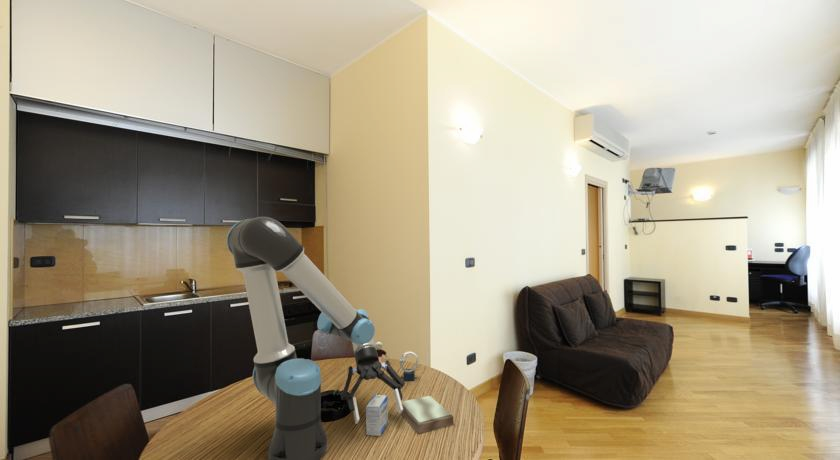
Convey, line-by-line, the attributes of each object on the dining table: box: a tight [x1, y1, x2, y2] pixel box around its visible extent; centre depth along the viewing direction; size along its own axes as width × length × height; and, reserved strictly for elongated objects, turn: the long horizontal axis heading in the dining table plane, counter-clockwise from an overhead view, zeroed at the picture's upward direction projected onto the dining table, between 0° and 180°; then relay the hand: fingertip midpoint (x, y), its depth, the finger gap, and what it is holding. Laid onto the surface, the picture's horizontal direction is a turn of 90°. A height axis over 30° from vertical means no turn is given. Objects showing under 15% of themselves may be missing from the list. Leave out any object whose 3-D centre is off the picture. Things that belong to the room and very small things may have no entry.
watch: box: [398, 351, 419, 383], centre depth 145 cm, size 6×8×11 cm
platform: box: [400, 395, 454, 435], centre depth 112 cm, size 12×16×3 cm
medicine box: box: [365, 394, 389, 437], centre depth 106 cm, size 8×4×9 cm, turn 168°
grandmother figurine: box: [375, 341, 388, 371], centre depth 155 cm, size 8×4×13 cm, turn 119°
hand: (379, 416), depth 104 cm, fingers open, 13 cm apart
